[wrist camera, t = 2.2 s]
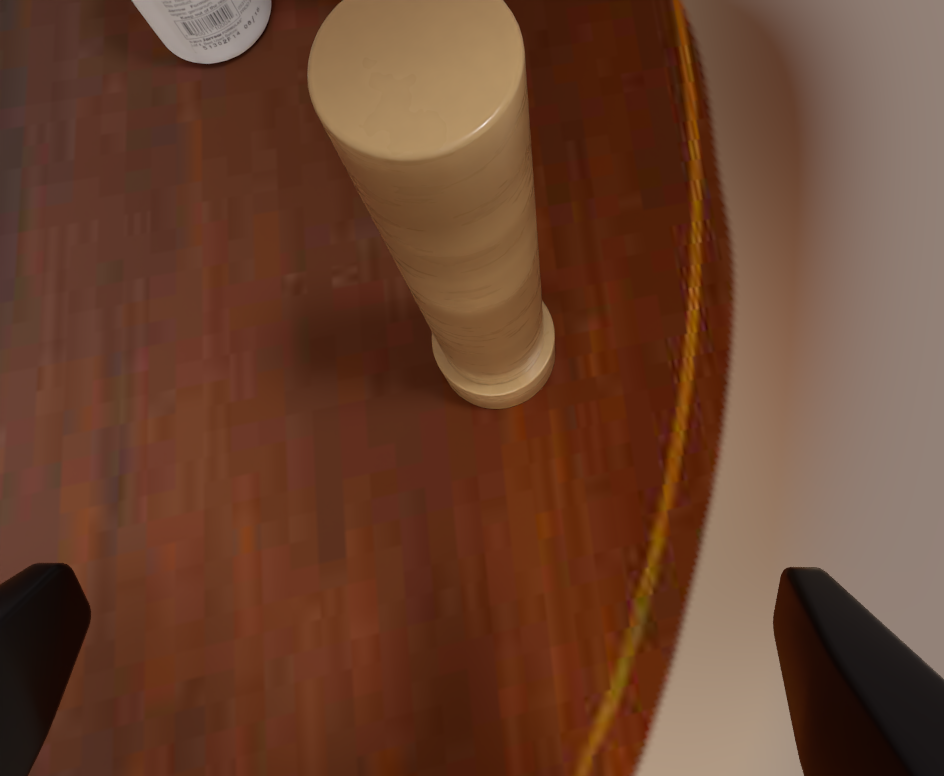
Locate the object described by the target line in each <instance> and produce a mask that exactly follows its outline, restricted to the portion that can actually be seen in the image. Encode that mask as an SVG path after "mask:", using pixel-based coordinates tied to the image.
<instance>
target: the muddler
mask: <svg viewBox="0 0 944 776" xmlns="http://www.w3.org/2000/svg"><path fill="white" fill-rule="evenodd" d="M307 79H308V90H309V94H310V98H311V102H312V104H313V107H314V109H315V112H316V114H317V115H318V117H319V119H320V121H321V123H322V125H323V127H324V129H325V131H326V132H327V134H328V136H329V138H330V140H331V142H332V144H333V146H334V148H335V149H336V151H337V153H338V155H339V157H340V159H341V161H342V163H343V165H344V166H345V168H346V170H347V172H348V174H349V176H350V178H351V180H352V182H353V183H354V185H355V187H356V189H357V191H358V193H359V195H360V197H361V199H362V200H363V202H364V204H365V206H366V208H367V210H368V212H369V214H370V216H371V218H372V219H373V221H374V223H375V225H376V227H377V229H378V231H379V233H380V235H381V236H382V238H383V240H384V242H385V244H386V246H387V248H388V250H389V252H390V253H391V255H392V257H393V259H394V261H395V263H396V265H397V267H398V269H399V270H400V272H401V274H402V276H403V278H404V280H405V282H406V284H407V286H408V287H409V289H410V291H411V293H412V295H413V297H414V299H415V301H416V303H417V304H418V306H419V308H420V310H421V312H422V314H423V316H424V318H425V320H426V321H427V323H428V325H429V327H430V329H431V331H432V349H433V353H434V357H435V359H436V362H437V364H438V366H439V368H440V369H441V371H442V373H443V375H444V376H445V378H446V380H447V381H448V383H449V385H450V386H451V387H452V389H453V390H454V391H455V392H456V393H457V394H458V395H459V396H461V397H462V398H463V399H465V400H466V401H468V402H470V403H472V404H474V405H477V406H480V407H484V408H490V409H502V408H509V407H513V406H516V405H519V404H521V403H523V402H525V401H527V400H528V399H530V398H531V397H533V396H534V395H535V394H536V393H537V392H538V391H539V390H540V389H541V388H542V387H543V386H544V384H545V383H546V382H547V380H548V378H549V376H550V374H551V372H552V369H553V365H554V360H555V330H554V324H553V320H552V317H551V314H550V312H549V310H548V308H547V307H546V305H545V303H544V302H543V301H542V294H541V279H540V265H539V251H538V236H537V222H536V208H535V193H534V179H533V165H532V150H531V136H530V122H529V107H528V93H527V79H526V65H525V50H524V43H523V37H522V34H521V31H520V28H519V25H518V23H517V21H516V19H515V17H514V15H513V13H512V12H511V10H510V9H509V8H508V6H507V5H506V4H505V2H504V1H503V0H342V1H341V2H340V3H339V4H338V5H337V6H336V7H335V8H334V9H333V10H332V11H331V13H330V14H329V15H328V16H327V18H326V19H325V21H324V22H323V24H322V25H321V27H320V29H319V31H318V33H317V35H316V37H315V39H314V42H313V45H312V48H311V52H310V56H309V61H308V73H307Z"/></svg>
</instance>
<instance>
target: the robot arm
mask: <svg viewBox="0 0 944 776" xmlns="http://www.w3.org/2000/svg"><path fill="white" fill-rule="evenodd" d="M90 619H91V609H90V605H89V603H88V600H87V598H86V596H85V594H84V592H83V590H82V588H81V586H80V584H79V582H78V580H77V577H76V575H75V573H74V571H73V570H72V568H71V567H70V566H68V565H67V564H64V563H37V564H33V565H31V566H29V567H28V568H26V569H24V570H23V571H21V572H20V573H18V574H16V575H15V576H13V577H12V578H10V579H9V580H7V581H5V582H4V583H2V584H1V585H0V776H28V774H29V772H30V770H31V768H32V766H33V764H34V762H35V760H36V758H37V756H38V754H39V752H40V750H41V748H42V745H43V743H44V741H45V739H46V737H47V734H48V732H49V729H50V727H51V725H52V722H53V720H54V717H55V715H56V712H57V710H58V707H59V704H60V702H61V699H62V696H63V694H64V691H65V688H66V686H67V683H68V681H69V678H70V675H71V673H72V670H73V667H74V665H75V662H76V659H77V657H78V654H79V651H80V649H81V646H82V644H83V641H84V638H85V636H86V633H87V630H88V628H89V624H90ZM773 628H774V636H775V641H776V646H777V651H778V656H779V661H780V666H781V671H782V676H783V681H784V686H785V691H786V696H787V701H788V706H789V711H790V716H791V721H792V726H793V730H794V736H795V741H796V745H797V750H798V755H799V759H800V763H801V766H802V770H803V773H804V776H944V679H943V678H942V677H941V676H940V675H938V673H936V672H935V671H934V670H933V669H932V668H931V667H930V666H928V665H927V663H925V662H924V661H923V660H922V659H921V658H920V657H919V656H918V655H917V654H915V653H914V652H913V651H912V650H911V649H910V648H909V647H908V646H907V645H906V644H905V643H903V642H902V641H901V640H900V639H899V638H898V637H897V636H896V635H895V634H894V633H892V632H891V631H890V630H889V629H888V628H887V627H886V626H885V625H884V624H882V623H881V622H880V621H879V620H878V619H877V618H876V617H875V616H874V615H873V614H872V613H870V612H869V611H868V610H867V609H866V608H865V607H864V606H863V605H861V603H859V602H858V601H857V600H856V599H855V598H854V597H853V596H852V595H850V593H848V592H847V591H846V590H845V589H844V588H843V587H842V586H841V585H840V584H839V583H837V582H836V581H835V580H834V579H833V578H832V577H831V576H829V574H828V573H826V572H825V571H823V570H822V569H820V568H816V567H789V568H786V569H785V570H784V571H783V573H782V574H781V578H780V584H779V589H778V594H777V599H776V605H775V610H774V617H773Z"/></svg>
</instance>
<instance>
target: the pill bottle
mask: <svg viewBox="0 0 944 776" xmlns="http://www.w3.org/2000/svg"><path fill="white" fill-rule="evenodd" d="M132 2H133V3H134V5H135V6H136V7H137V9H138V10H139V11H140V13H141V14H142V15H143V17H144V18H145V19H146V21H147V22H148V23H149V25H150V26H151V28H152V29H153V30H154V32H155V33H156V34H157V35H158V37H159V38H160V39H161V41H162V42H163V43H164V45H165V46H166V47H167V48H168V49H169V50H170V51H171V52H172V53H174V54H175V55H177V56H178V57H180V58H182V59H184V60H187V61H190V62H194V63H203V64H212V63H218V62H223V61H227V60H229V59H232V58H234V57H236V56H238V55H240V54H242V53H243V52H245V51H246V50H247V49H248V48H250V47H251V46H252V45H253V44H254V43H255V42H256V41H257V40H258V38H259V37H260V36H261V34H262V33H263V31H264V29H265V27H266V25H267V23H268V20H269V17H270V12H271V0H132Z"/></svg>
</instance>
